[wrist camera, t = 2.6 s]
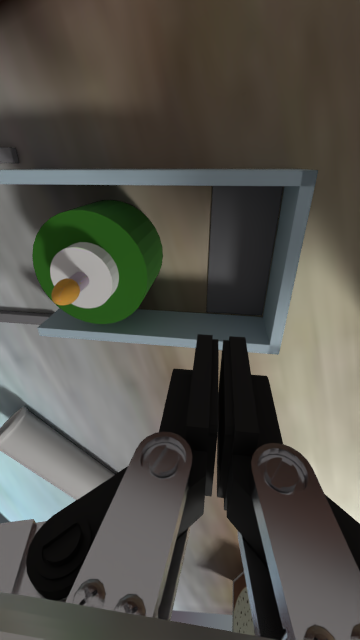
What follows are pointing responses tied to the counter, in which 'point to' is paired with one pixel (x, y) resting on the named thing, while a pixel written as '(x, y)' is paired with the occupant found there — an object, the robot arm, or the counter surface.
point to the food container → (241, 607)
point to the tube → (50, 454)
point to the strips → (9, 316)
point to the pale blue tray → (211, 255)
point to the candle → (98, 260)
